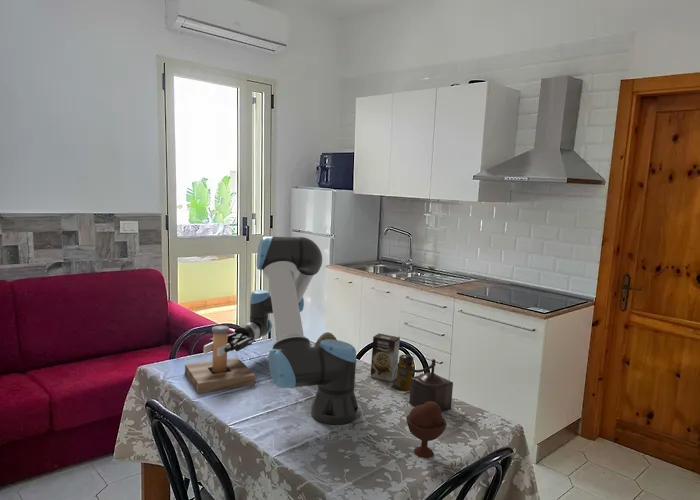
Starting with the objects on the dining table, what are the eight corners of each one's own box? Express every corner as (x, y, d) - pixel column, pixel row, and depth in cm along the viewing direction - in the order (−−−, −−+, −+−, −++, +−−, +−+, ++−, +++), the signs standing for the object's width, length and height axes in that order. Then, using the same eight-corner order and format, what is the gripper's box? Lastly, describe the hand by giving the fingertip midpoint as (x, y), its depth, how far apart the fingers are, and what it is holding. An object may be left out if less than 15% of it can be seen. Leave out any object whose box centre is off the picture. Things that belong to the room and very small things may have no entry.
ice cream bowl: (438, 443, 140) (442, 393, 138) (447, 464, 129) (451, 410, 127) (401, 441, 139) (405, 391, 138) (407, 463, 128) (411, 409, 127)
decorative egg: (333, 375, 187) (336, 338, 185) (308, 371, 190) (309, 334, 188) (342, 366, 197) (345, 330, 195) (318, 362, 200) (320, 327, 199)
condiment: (417, 389, 179) (419, 357, 178) (402, 394, 173) (404, 362, 172) (402, 382, 184) (404, 352, 183) (387, 387, 178) (389, 356, 177)
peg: (229, 372, 176) (231, 329, 174) (213, 374, 173) (214, 331, 171) (225, 366, 181) (226, 325, 180) (209, 368, 178) (210, 326, 176)
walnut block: (254, 384, 174) (255, 375, 174) (198, 393, 164) (198, 383, 164) (237, 366, 191) (237, 357, 191) (184, 373, 181) (185, 364, 180)
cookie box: (369, 377, 188) (372, 336, 186) (375, 372, 194) (378, 332, 192) (391, 382, 184) (394, 340, 182) (397, 376, 190) (400, 336, 188)
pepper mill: (428, 396, 172) (432, 347, 170) (452, 408, 164) (456, 357, 162) (395, 405, 163) (399, 354, 161) (418, 419, 154) (422, 364, 152)
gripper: (265, 346, 191) (233, 365, 169) (226, 339, 196) (189, 357, 175) (266, 328, 190) (233, 344, 168) (227, 321, 196) (190, 336, 174)
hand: (211, 351), depth 171 cm, fingers closed on peg, 5 cm apart
